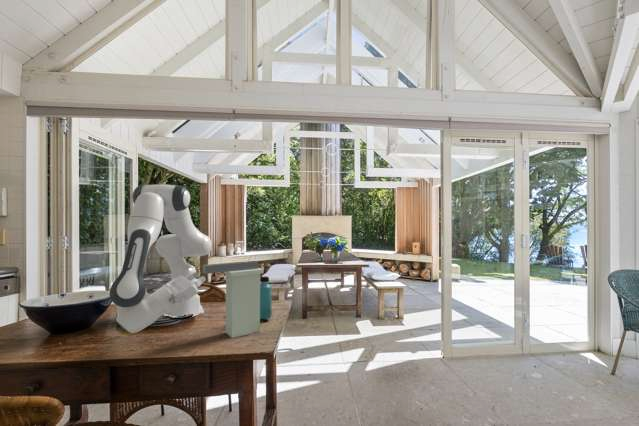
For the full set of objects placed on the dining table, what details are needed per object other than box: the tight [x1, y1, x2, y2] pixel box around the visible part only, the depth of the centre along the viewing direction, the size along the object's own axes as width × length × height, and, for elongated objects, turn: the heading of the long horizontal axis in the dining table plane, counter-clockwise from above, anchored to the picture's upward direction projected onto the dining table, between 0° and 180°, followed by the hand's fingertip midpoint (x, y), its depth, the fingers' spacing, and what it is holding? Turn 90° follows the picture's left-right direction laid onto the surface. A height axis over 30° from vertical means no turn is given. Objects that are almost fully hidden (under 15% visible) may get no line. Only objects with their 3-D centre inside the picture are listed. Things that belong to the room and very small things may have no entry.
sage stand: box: [222, 267, 265, 339], centre depth 134 cm, size 14×9×26 cm, turn 126°
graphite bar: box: [202, 260, 259, 275], centre depth 131 cm, size 22×3×3 cm, turn 126°
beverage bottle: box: [260, 276, 273, 320], centre depth 150 cm, size 6×7×20 cm
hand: (201, 275), depth 124 cm, fingers open, 8 cm apart
